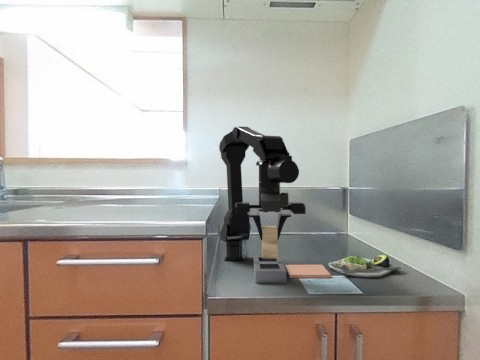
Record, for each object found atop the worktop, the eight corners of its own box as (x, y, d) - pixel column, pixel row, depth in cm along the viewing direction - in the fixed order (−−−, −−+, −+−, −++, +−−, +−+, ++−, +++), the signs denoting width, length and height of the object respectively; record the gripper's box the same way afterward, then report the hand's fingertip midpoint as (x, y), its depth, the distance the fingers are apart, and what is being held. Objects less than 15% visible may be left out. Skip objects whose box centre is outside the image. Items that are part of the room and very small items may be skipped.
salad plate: (368, 285, 95) (368, 267, 94) (314, 271, 108) (314, 255, 108) (407, 272, 107) (407, 256, 106) (353, 261, 121) (353, 246, 120)
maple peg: (261, 255, 103) (261, 226, 103) (276, 254, 103) (276, 226, 103) (262, 258, 99) (262, 228, 99) (277, 258, 99) (277, 228, 99)
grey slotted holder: (253, 265, 114) (253, 255, 114) (279, 265, 114) (279, 255, 114) (255, 282, 96) (255, 271, 96) (286, 282, 96) (286, 271, 96)
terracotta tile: (285, 267, 112) (285, 264, 112) (322, 267, 111) (322, 264, 111) (290, 277, 101) (290, 274, 101) (330, 277, 100) (330, 274, 100)
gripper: (234, 183, 93) (234, 245, 93) (309, 183, 92) (309, 245, 93) (235, 182, 104) (235, 238, 104) (302, 181, 104) (302, 237, 104)
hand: (269, 239), depth 101 cm, fingers closed on maple peg, 4 cm apart
